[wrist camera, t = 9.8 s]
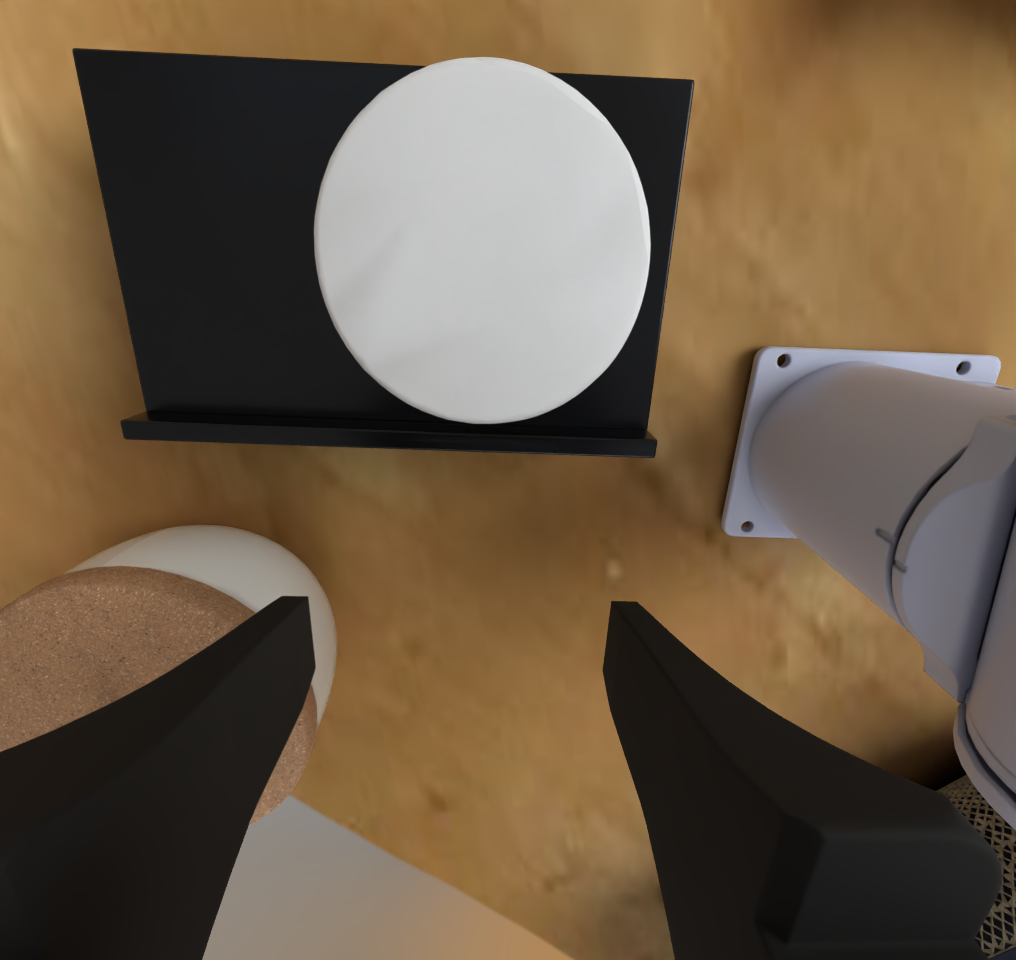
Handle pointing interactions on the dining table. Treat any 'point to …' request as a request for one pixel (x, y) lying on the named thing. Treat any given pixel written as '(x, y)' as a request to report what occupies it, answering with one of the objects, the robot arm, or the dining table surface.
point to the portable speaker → (1012, 919)
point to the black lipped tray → (313, 255)
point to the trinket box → (153, 631)
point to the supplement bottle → (482, 240)
